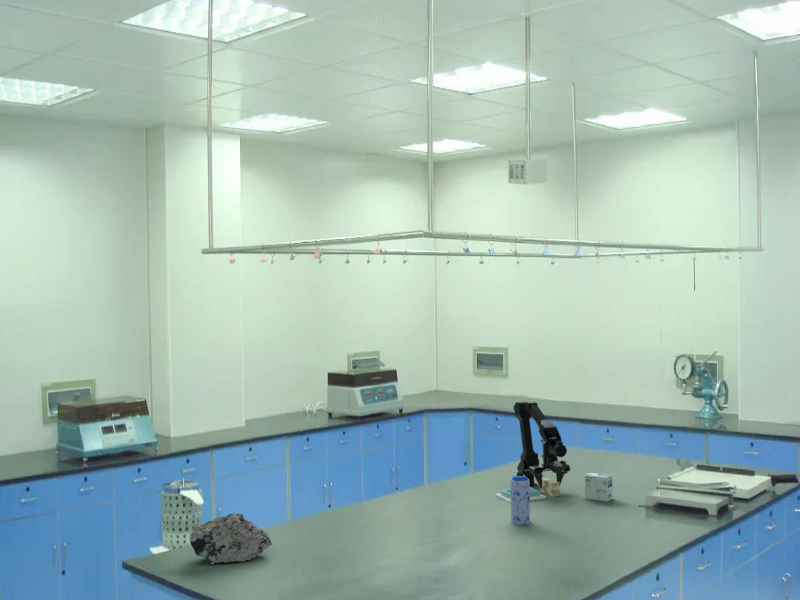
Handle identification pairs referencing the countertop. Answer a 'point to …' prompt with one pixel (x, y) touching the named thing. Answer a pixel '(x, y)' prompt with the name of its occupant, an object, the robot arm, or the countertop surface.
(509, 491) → the keyed cradle
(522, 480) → the aerosol can
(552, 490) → the key block
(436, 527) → the countertop surface
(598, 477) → the light bulb box
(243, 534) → the mineral sample
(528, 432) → the robot arm
